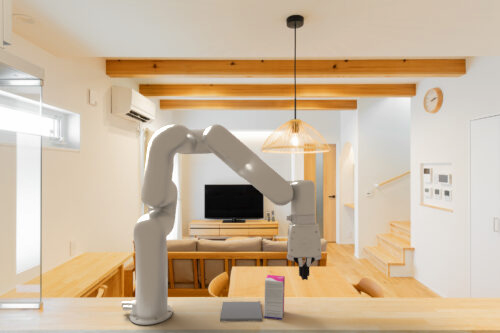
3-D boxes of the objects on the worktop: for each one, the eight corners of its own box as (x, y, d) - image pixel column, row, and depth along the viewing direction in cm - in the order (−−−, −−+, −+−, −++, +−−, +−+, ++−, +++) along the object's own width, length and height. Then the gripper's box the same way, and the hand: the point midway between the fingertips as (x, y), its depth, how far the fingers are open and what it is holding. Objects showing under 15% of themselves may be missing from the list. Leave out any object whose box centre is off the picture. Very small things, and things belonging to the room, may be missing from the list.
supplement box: (283, 320, 93) (283, 281, 93) (263, 318, 94) (263, 280, 95) (284, 311, 99) (284, 275, 99) (266, 309, 100) (266, 274, 100)
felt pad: (220, 321, 92) (220, 318, 92) (222, 304, 104) (222, 301, 104) (262, 321, 92) (262, 318, 93) (259, 303, 104) (260, 301, 104)
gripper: (280, 221, 93) (281, 283, 93) (330, 221, 94) (331, 282, 93) (278, 218, 101) (279, 274, 101) (323, 217, 101) (324, 273, 101)
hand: (304, 278), depth 97 cm, fingers closed
